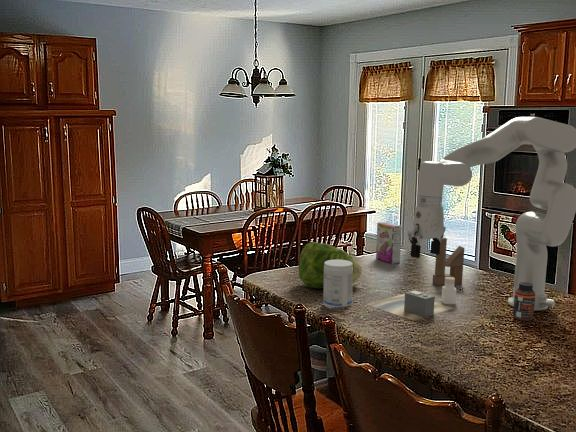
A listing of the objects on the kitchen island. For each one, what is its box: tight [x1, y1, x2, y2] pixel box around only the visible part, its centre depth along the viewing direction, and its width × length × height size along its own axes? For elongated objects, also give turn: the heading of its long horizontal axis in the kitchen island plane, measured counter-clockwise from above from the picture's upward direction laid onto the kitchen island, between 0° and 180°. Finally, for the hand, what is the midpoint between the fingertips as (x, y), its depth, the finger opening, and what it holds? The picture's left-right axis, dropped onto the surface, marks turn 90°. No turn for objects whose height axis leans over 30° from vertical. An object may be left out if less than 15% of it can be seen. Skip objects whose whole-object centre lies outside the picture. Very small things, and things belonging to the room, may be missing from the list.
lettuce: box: [298, 241, 363, 289], centre depth 213 cm, size 17×23×16 cm
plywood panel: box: [365, 293, 455, 322], centre depth 189 cm, size 20×20×1 cm
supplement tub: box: [322, 259, 354, 309], centre depth 191 cm, size 10×10×15 cm
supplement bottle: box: [512, 282, 535, 322], centre depth 181 cm, size 6×6×11 cm
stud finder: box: [404, 289, 436, 319], centre depth 182 cm, size 8×4×6 cm, turn 40°
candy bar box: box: [375, 221, 403, 265], centre depth 254 cm, size 11×5×16 cm, turn 30°
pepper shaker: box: [440, 277, 457, 305], centre depth 193 cm, size 4×4×10 cm
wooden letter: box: [432, 236, 465, 287], centre depth 218 cm, size 4×11×18 cm, turn 106°
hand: (425, 255), depth 182 cm, fingers open, 9 cm apart
